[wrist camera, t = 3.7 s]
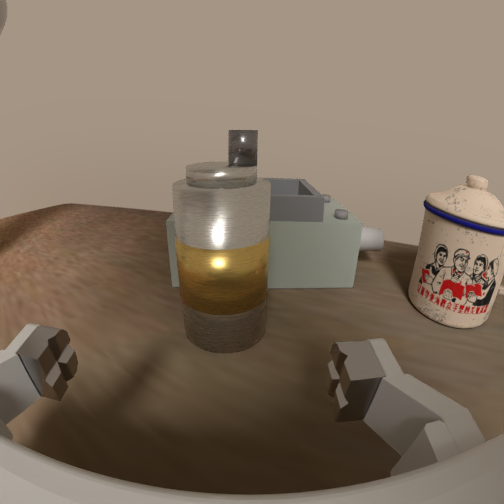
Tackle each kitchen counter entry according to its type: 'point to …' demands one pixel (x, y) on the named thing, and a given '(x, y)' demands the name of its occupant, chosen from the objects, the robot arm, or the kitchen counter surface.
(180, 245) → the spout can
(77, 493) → the robot arm
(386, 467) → the kitchen counter surface
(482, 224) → the teacup with lid
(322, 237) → the block
